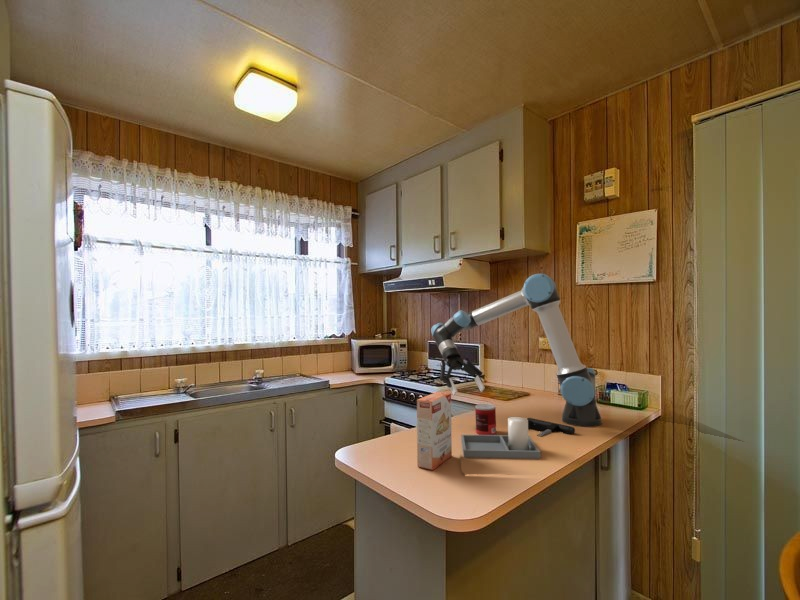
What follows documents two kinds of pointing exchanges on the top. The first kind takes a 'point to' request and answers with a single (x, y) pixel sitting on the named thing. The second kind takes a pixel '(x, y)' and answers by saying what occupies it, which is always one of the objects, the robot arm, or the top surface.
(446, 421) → the cracker box
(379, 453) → the top surface
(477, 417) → the canned food
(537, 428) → the toy submachine gun
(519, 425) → the ceramic jar
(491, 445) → the caddy
